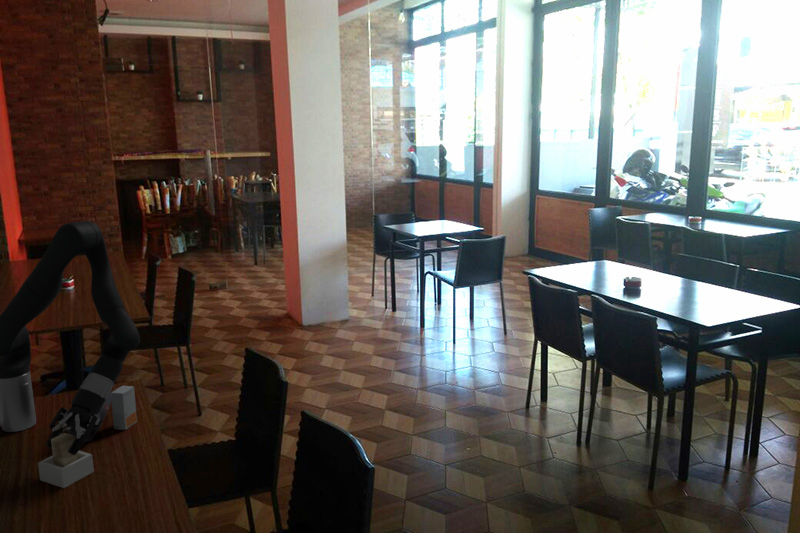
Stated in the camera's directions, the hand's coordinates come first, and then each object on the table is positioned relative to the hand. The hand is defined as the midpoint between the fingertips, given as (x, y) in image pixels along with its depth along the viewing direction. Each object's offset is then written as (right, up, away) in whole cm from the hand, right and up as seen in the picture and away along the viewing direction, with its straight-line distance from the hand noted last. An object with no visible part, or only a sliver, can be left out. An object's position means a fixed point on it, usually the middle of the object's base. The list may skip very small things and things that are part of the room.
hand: (60, 450), depth 164 cm
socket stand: (+1, -7, +3) cm, 8 cm away
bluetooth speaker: (-7, -2, +31) cm, 32 cm away
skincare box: (+3, -2, +32) cm, 32 cm away
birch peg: (+1, -7, +2) cm, 7 cm away
